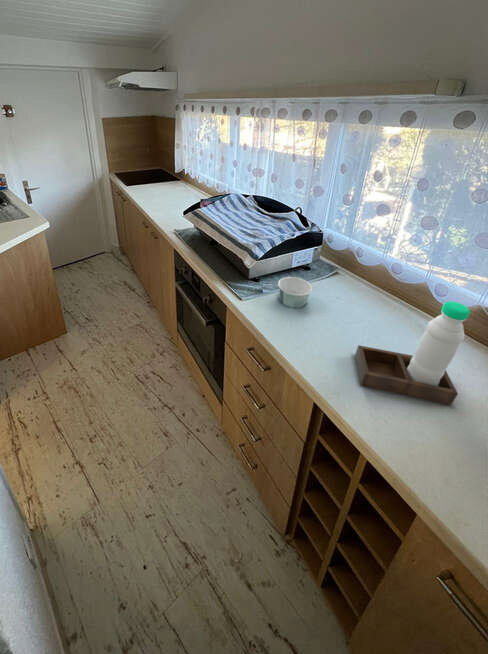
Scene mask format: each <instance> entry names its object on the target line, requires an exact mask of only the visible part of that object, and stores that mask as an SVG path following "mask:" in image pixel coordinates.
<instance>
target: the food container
mask: <svg viewBox="0 0 488 654" xmlns="http://www.w3.org/2000/svg"><path fill="white" fill-rule="evenodd" d="M277 287H278V290H279V292H278V293H279V300H280V302H281V304H283V305H284V306H287V307H291V308H302V307H303V306H305V304H306V302H307V300H308V298H309V296H310V294H311V293H312V291H313V286H312V285H311V283H309V282H308V281H307V280H305V279H303V278H300V277H296V276H286V277H283V278H280V279H279V280H278V282H277Z"/></svg>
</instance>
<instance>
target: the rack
mask: <svg viewBox="0 0 488 654" xmlns="http://www.w3.org/2000/svg"><path fill="white" fill-rule="evenodd" d="M413 356H414V355H411V354H408V353H407V354H406V353H402V352H396V351H392V350H391V351H390V350H385V349H380V348H375V347H370V346H366V345H365V346H364V345H360V344H358V345H357V348H356V351H355V354H354V361H355V365H356V370H357V374H358V375H357V376H358V379H359V384H360V386H361V387H366V388H370V389H373V390H374V389H375V390H379V391H382V392H383V391H384V392H388V393H392V394H397V395H400V396H401V395H402V396H406V397H410V398H414V399H420V400H423V401H428V402H431V403H437V404H440V405H446V406H450V407H451V406H452V404H453V402H454V401H455V399H456V398H457V396H458V395H459V393H458V391H457V389H456V387H455V386H454V383H453V382H452V380H451V378H450V376H449V374H448V372H447V370H446V369H445V373H444V375H443V377H442V378H441V379H440V381H439V384H438V386H433V385H429V384H424V383H419V382H415V381H411V380H410V377H409V374H408V372H407V367H408V366H409V364H410V361H411V359H412V357H413Z"/></svg>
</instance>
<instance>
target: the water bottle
mask: <svg viewBox="0 0 488 654" xmlns="http://www.w3.org/2000/svg"><path fill="white" fill-rule="evenodd" d="M440 313H441V314H439V315H437V316H436V317H434V318H432V319H431V320H430V321H429V322H427V324H426V328H425V330H424V331H423V334H422V335H421V338H420V340H419V341H418V344H417V346H416V349H415V352H414V354H413V355H412V356H413V357H412V359H411V361H410V364H409V366H408V367H407V372H408V374H409V377H410V380H411V381H415V382H419V383H424V384H429V385H433V386H438V384H439V381H440V379H441V378H442V377H443V375H444V373H445V370H446V369H447V368H448V366H449V365H450V364H451V362H452V360H453V358H455V355H456V354H457V351H458V349H459V347H460V344H461V343H462V342H463V341H464V339H465V330H464V324H463V322H465V321H466V320H468V318H469V316H470V314H471V310H470V309H469V308H468V306H466V305H464V304H462V303H461V302H458V301H446V302H444V303H443V305H442V307H441V311H440Z"/></svg>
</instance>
